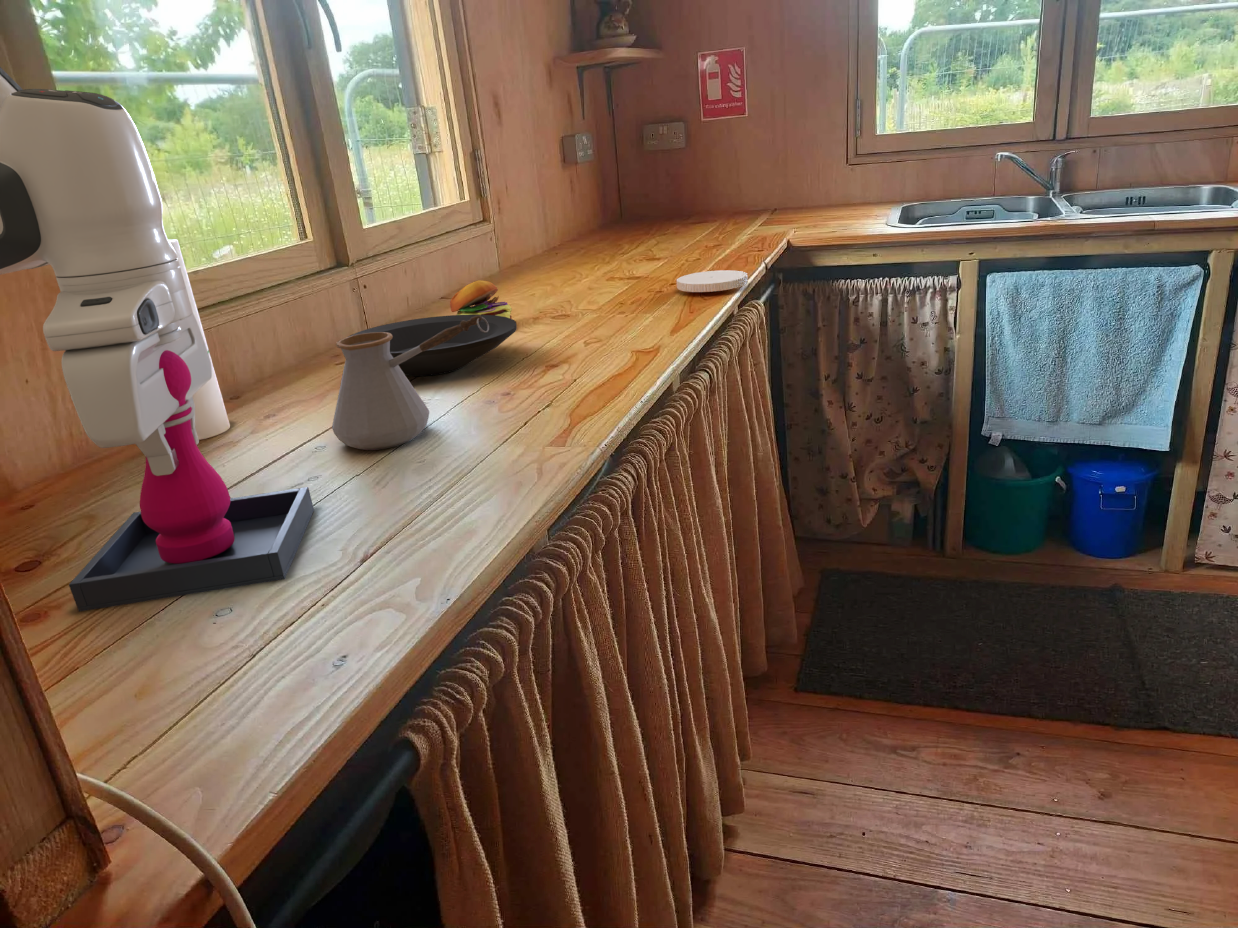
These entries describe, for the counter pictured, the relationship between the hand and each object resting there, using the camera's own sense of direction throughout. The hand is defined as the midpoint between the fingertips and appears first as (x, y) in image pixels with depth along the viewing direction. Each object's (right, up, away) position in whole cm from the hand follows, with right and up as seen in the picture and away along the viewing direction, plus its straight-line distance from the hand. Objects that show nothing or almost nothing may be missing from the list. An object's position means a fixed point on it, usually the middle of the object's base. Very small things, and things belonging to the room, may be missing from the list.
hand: (177, 460), depth 76 cm
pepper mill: (0, -8, +3) cm, 9 cm away
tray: (+1, -9, +4) cm, 10 cm away
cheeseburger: (+14, +24, +84) cm, 89 cm away
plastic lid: (+57, +34, +98) cm, 118 cm away
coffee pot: (+15, +2, +29) cm, 32 cm away
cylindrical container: (-17, +3, +40) cm, 44 cm away
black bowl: (+9, +15, +62) cm, 64 cm away
